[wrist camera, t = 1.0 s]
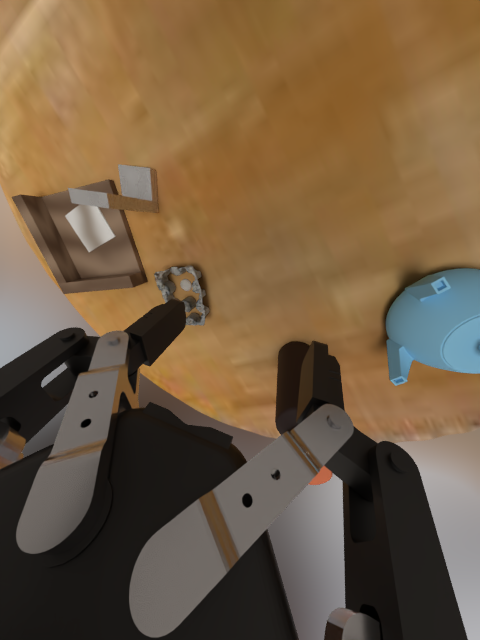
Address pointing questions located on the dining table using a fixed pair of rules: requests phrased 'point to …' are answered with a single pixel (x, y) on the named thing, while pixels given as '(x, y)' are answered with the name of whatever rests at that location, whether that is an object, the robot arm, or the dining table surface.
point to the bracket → (125, 192)
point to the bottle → (292, 394)
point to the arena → (83, 241)
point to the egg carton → (190, 302)
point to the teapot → (436, 324)
